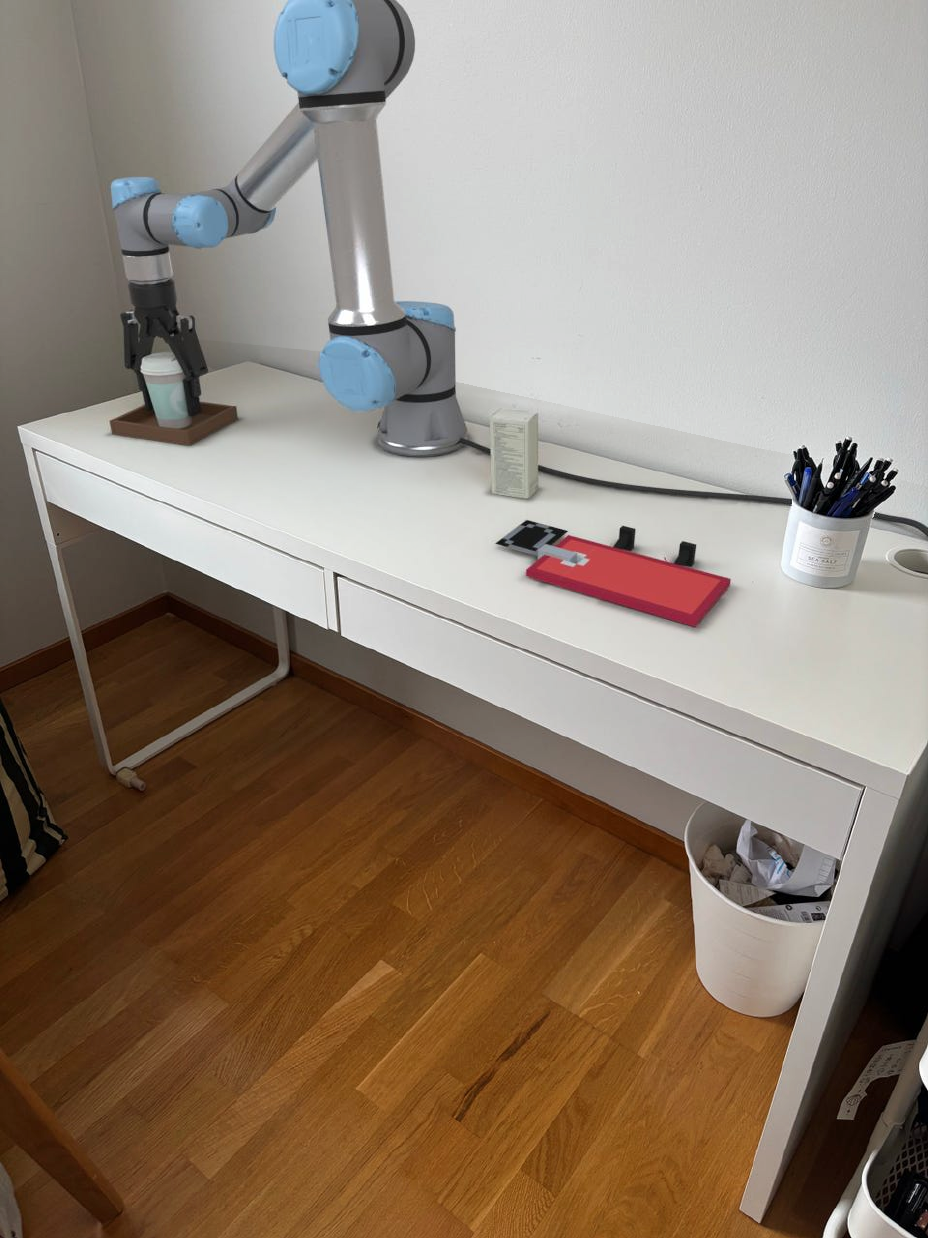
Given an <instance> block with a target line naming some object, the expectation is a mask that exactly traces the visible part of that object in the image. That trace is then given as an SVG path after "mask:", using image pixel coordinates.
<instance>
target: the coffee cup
mask: <svg viewBox="0 0 928 1238" xmlns="http://www.w3.org/2000/svg"><path fill="white" fill-rule="evenodd" d="M141 372H142V373H143V375H144V378H145V382H146V385H147V388H148V391H149V395H150V398H151V401H152V404H153V408H154V411H155V414H156V417H157V421H158V424H159V426H161V427H168V428H175V429H180V428H184V427H187V426H189V425H191V424H192V417H190V416H189V415H188V409H187V403H186V397H185V391H184V385H183V380H184V379H185V378H186V376H185V374H184V372H183V370H182V368H181V367H180V365H179V363H178V361H177V359H176V357H175V355H174V354H173V352H172V351H162V352H155V353H151V354H150V355H147V356H145V357H144V358H143V359H142V365H141Z"/></svg>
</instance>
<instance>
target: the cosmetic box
mask: <svg viewBox="0 0 928 1238" xmlns="http://www.w3.org/2000/svg"><path fill="white" fill-rule="evenodd" d="M489 437H490V438H489V439H490V440H489V441H490V443H489V444H490V449H491V455H490V477H491V478H490V479H491V480H490V481H491V484H490V485H491V494H493V495H500V496H505V497H506V496H507V497H512V498H517V499H525V500H526V499H527V500H528V499H530V498H531V497H532V496H533V495H534V494H535V493H536V491H538V489H539V471H538V465H539V412H538V411H531V410H530V411H529V410H521V409H512V408H511V409H510V408H499V409H498V410H496V411H495V412H494V413H492V414H491V415H490V416H489Z"/></svg>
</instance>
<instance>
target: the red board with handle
mask: <svg viewBox="0 0 928 1238" xmlns="http://www.w3.org/2000/svg"><path fill="white" fill-rule="evenodd" d="M568 532H569V530H567V529H562V528H558V527H555V526H551V525H547V524H544V523H540V522H536V521H533V520H528V519H525V520H524V521H522V523H521V524H519V525H518V526H516V527H515V528H514V529H512V530H511V531H510V532H508V533H507V534H506V535H504V536H503V537H502V538H500V539H499V540H498V541H496V542H495V543H494V544H495V545H497V546H502V547H505V548H507V549H511V550H516V551H519V552H522V553H526V554H529V555H532V556H536V557H537V560H536V561H535V562H533V563H532V564H531V565H530V566H528V567H527V568H526V569H525V577H527V578H531V579H533V580H536V581H541V582H544V583H547V584H550V585H554V586H557V587H561V588H564V589H567V590H571V591H573V592H576V593H577V592H578V593H579V594H580V593H581V594H584V595H587V596H591V597H593V598H596V599H600V600H604V601H606V602H611V603H613V604H617V605H620V606H624V607H627V608H630V609H634V610H637V611H641V612H643V613H647V614H651V615H654V616H657V617H660V618H663V619H667V620H670V621H674V622H677V623H681V624H683V625H687V626H690V627H694V628H696V627H698V625H699V623H701V621H702V620H703V619H704V618H705V616H706V615H707V614H708V612H709V611H710V610H711V609H712V608H713V606H715V604H716V603H717V602H718V601H719V599H720V598H721V597H722V596H723V595H724V593H726V591H727V590H728V589H729V587H730V586H731V582H732V581H731V580H732V578H729V577H725V576H723V575H718V574H714V573H710V572H708V571H707V572H706V571H704V570H700V569H697V568H696V569H695V568H692V567H693V566H694V565H695V558H696V551H697V544H696V543H692V542H688V541H684V540H682V541H681V542H680V543H679V549H678V555H677V557H676V559H675V561H673V562H670V561H666V560H663V559H658V558H656V557H652V556H648V555H644V554H640V553H637V552H633V551H632V550H633V549H634V548H635V540H636V528H635V527H630V526H626V525H621V526H620V527H619V531H618V539H617V540H616V542H615V543H614V545H613V546H611V545H607V544H603V543H599V542H596V541H592V540H588V539H584V538H581V537H577V536H573V535H570V534H567V533H568ZM566 534H567V535H566ZM565 535H566V536H565ZM563 536H565V537H563ZM562 537H563V538H562ZM561 538H562V539H561ZM559 539H561V540H560V541H559V542H558V543H557V544H555V545H553V544H554V543H556V542H557V541H558V540H559Z"/></svg>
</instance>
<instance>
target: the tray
mask: <svg viewBox="0 0 928 1238" xmlns="http://www.w3.org/2000/svg"><path fill="white" fill-rule="evenodd" d="M200 406H201V413H199V414H197V415H195V416H193V417H192V424H191V425H189V426H187V427H184V428H180V429H175V428H168V427H161V426H159V424H158V421H157V417H156V414H155V411H154V409H153V410H150V411H146V408H145V404H143V405H140V406H138V407H136V408H134V409H132V410H130V411H127V412H125V413H123V414H120V415H119V416H117V417H114V418H113V419H111V420H109V425H110V430H111V435H115V436H121V437H127V438H134V439H142V440H146V441H147V440H148V441H155V442H162V443H167V444H168V443H169V444H175V445H182V446H188V447H191V446H192V445H194V444H196V443H197V442H199V441H201V440H203V439H205V438H207V437H208V436H209V437H210V435H212V434H214V433H215V432H218V431H219V430H221V429H223V428H225V427H227V426H229V425H230V424H232V423H234V422H237V421H238V420H239V417H238V410H237V409H238V408H237V405H229V404H223V403H222V404H221V403H214V402H205V401H200Z"/></svg>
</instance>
